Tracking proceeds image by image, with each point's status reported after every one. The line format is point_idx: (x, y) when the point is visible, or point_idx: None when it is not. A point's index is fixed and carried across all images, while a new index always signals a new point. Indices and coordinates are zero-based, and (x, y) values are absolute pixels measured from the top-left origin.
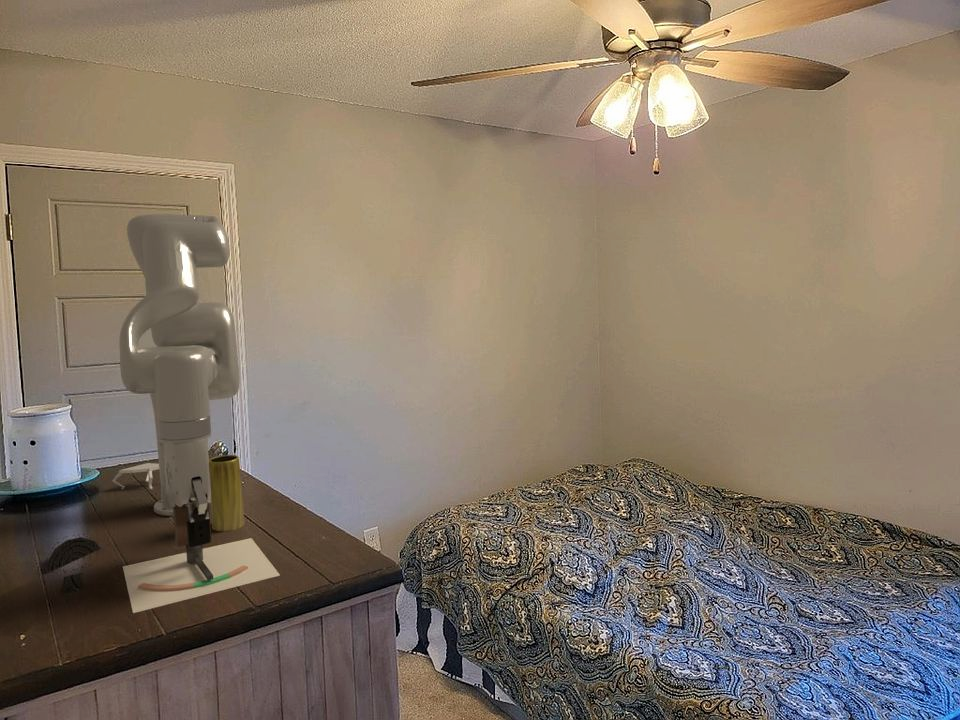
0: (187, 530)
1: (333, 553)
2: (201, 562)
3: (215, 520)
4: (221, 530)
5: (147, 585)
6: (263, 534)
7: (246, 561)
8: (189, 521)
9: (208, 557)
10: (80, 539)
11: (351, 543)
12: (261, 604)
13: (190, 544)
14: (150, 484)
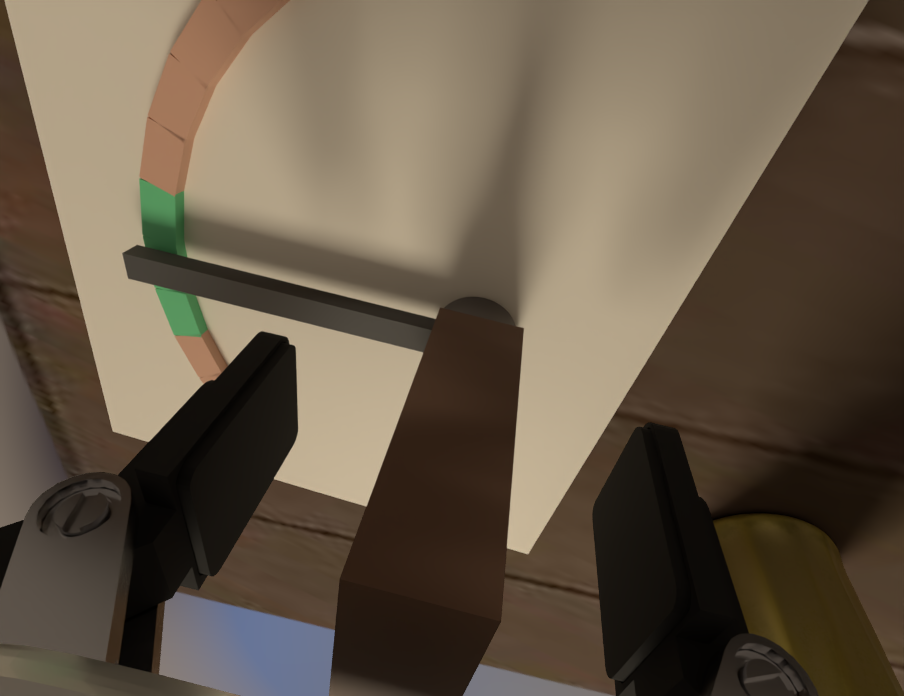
0: (210, 411)
1: (275, 573)
2: (325, 319)
3: (790, 599)
4: (734, 555)
5: None
6: (597, 586)
7: (309, 438)
8: (120, 488)
9: None
10: None
11: (309, 617)
12: (10, 299)
13: (256, 343)
14: None
